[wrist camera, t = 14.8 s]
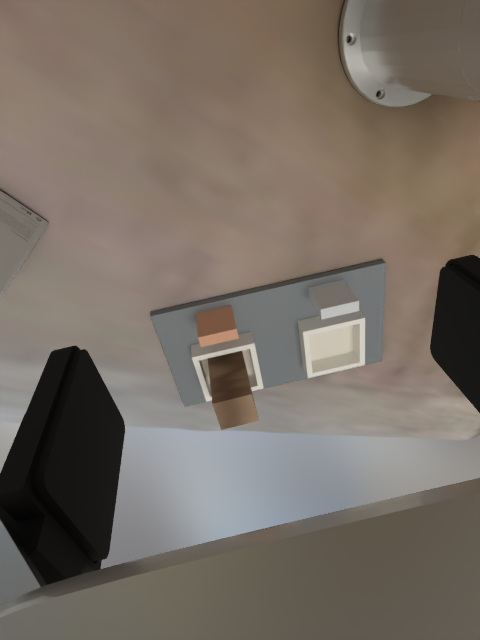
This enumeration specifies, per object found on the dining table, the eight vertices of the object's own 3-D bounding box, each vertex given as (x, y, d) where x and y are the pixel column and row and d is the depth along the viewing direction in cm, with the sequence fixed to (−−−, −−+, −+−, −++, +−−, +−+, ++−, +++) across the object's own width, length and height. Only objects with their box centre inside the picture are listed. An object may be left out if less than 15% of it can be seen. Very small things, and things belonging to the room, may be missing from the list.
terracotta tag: (231, 305, 48) (236, 328, 44) (233, 314, 49) (238, 338, 45) (195, 313, 48) (197, 337, 44) (198, 322, 49) (200, 347, 44)
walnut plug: (240, 345, 51) (251, 394, 44) (246, 370, 54) (258, 420, 46) (206, 353, 51) (212, 403, 44) (214, 378, 54) (221, 429, 46)
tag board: (382, 259, 48) (395, 272, 45) (378, 356, 57) (389, 372, 55) (150, 311, 48) (149, 328, 45) (184, 401, 57) (185, 420, 54)
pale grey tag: (343, 279, 48) (359, 300, 44) (343, 289, 49) (359, 311, 45) (308, 287, 48) (320, 309, 44) (309, 297, 49) (321, 319, 45)
